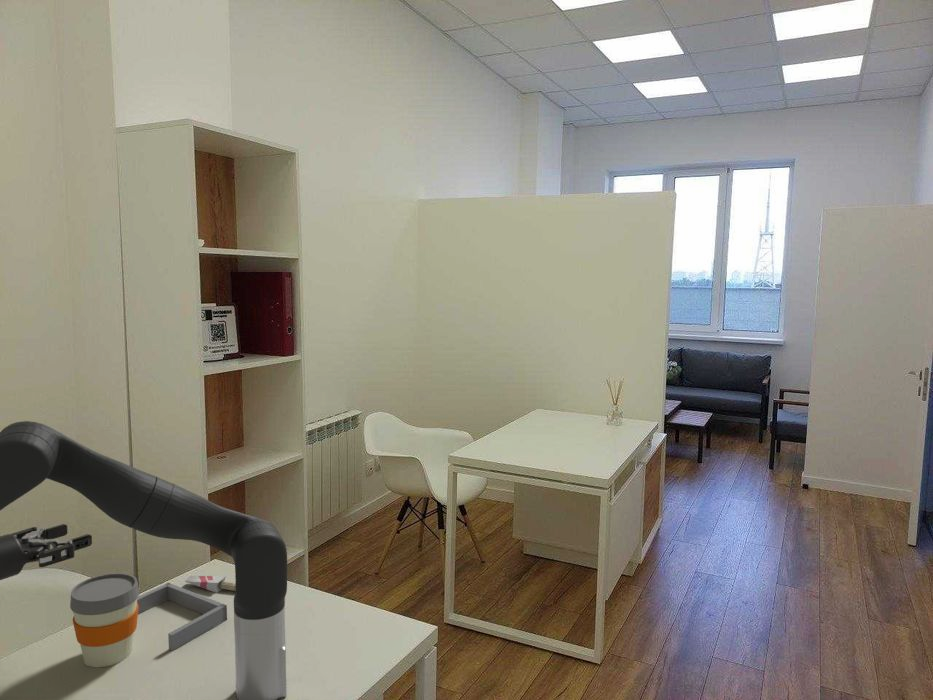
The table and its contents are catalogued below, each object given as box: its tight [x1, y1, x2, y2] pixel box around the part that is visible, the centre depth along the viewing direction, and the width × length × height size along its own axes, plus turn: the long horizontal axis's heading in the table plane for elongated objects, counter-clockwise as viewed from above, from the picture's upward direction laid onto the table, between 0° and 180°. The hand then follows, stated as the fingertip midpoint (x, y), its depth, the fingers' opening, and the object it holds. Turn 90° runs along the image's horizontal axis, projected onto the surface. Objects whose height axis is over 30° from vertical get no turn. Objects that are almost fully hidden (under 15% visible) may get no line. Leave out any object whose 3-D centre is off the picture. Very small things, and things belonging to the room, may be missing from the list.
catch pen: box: [137, 582, 228, 652], centre depth 152 cm, size 14×20×4 cm
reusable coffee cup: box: [69, 572, 140, 668], centre depth 138 cm, size 13×13×15 cm
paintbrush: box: [184, 575, 236, 594], centre depth 167 cm, size 4×3×20 cm
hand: (78, 534), depth 131 cm, fingers open, 8 cm apart
